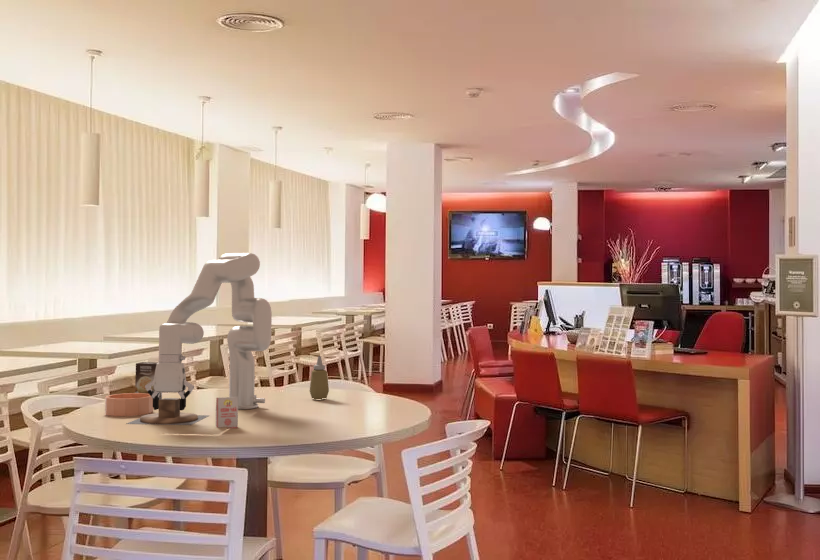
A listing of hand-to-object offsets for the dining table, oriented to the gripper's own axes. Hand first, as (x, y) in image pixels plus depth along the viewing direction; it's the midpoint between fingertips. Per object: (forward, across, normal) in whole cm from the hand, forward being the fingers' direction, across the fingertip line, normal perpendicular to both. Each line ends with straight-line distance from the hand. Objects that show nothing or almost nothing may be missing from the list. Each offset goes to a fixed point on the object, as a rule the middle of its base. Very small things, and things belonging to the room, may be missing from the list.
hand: (169, 409), depth 265 cm
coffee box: (+4, +24, -42) cm, 49 cm away
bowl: (+4, +20, -14) cm, 25 cm away
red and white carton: (+4, -23, +10) cm, 25 cm away
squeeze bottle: (+4, -42, -59) cm, 73 cm away
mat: (+4, 0, 0) cm, 4 cm away
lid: (+3, 0, 0) cm, 3 cm away
